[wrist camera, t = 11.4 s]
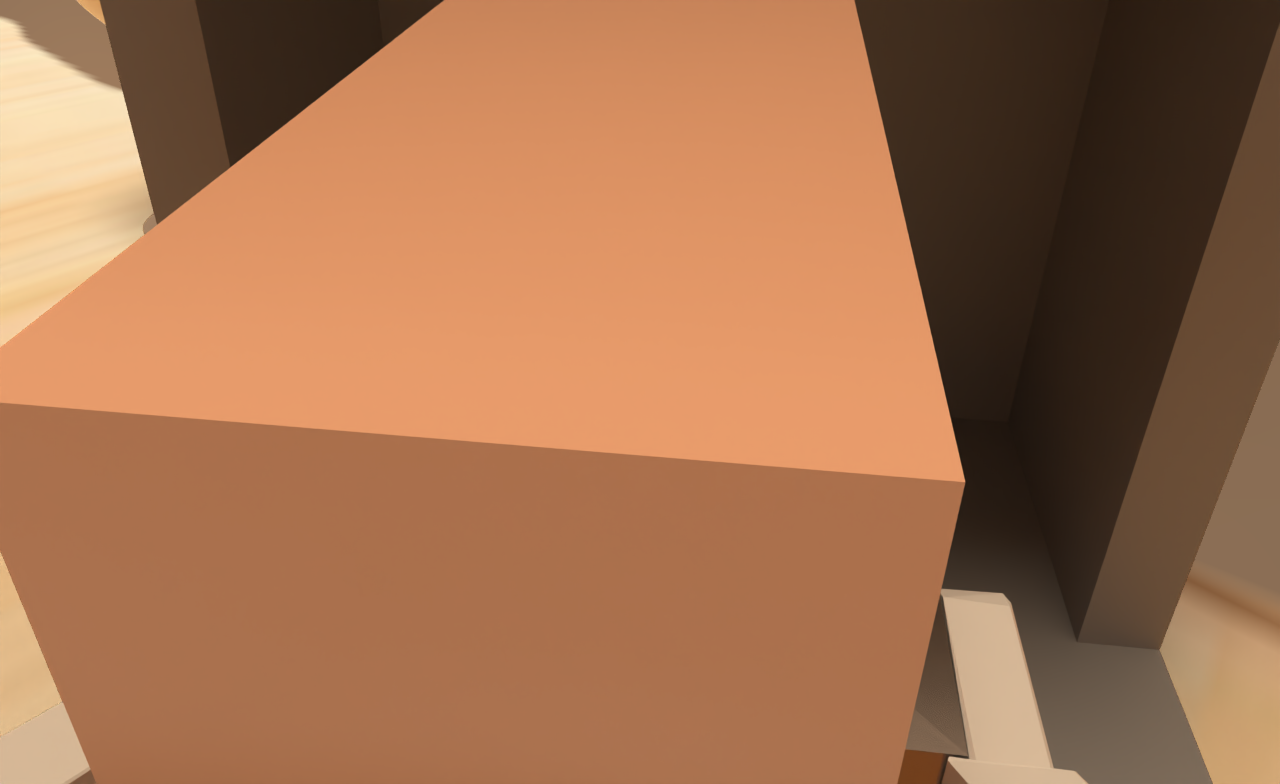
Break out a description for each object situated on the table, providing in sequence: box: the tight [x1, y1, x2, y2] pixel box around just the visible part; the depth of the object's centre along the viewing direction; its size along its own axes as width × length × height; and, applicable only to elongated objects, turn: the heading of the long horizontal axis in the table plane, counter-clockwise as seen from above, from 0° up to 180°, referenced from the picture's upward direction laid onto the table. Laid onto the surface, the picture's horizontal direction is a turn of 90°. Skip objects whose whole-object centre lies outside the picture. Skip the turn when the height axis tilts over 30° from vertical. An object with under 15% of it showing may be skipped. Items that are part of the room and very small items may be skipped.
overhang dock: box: [99, 0, 1280, 784], centre depth 17 cm, size 15×18×19 cm
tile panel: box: [0, 0, 965, 784], centre depth 10 cm, size 10×3×10 cm, turn 173°
